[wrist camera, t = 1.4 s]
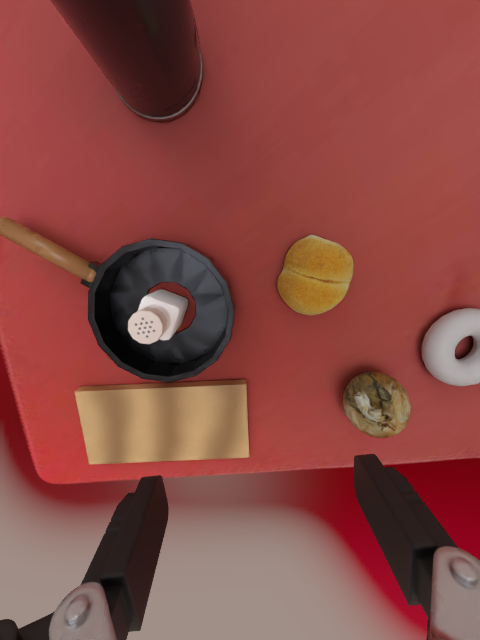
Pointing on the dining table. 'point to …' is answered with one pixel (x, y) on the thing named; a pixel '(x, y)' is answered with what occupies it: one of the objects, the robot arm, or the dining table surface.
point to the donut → (453, 348)
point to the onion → (377, 404)
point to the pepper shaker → (157, 317)
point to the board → (164, 421)
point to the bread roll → (315, 275)
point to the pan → (127, 292)
